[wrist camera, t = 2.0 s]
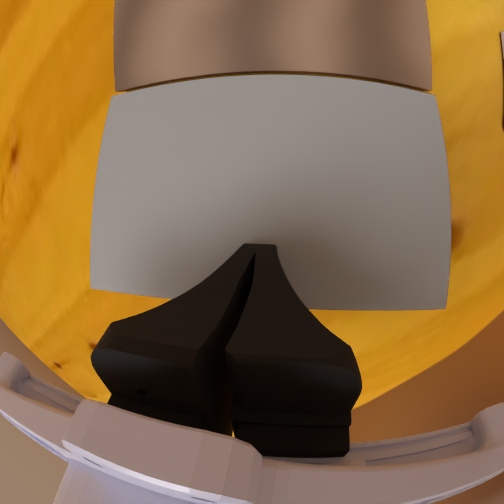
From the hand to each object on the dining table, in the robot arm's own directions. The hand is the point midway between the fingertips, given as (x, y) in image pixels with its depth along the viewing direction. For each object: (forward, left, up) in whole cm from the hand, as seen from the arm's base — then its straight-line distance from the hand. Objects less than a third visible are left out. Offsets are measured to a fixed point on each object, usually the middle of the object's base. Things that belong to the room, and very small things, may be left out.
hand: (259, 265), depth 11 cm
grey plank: (0, -2, -3) cm, 4 cm away
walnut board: (0, -13, -7) cm, 14 cm away
